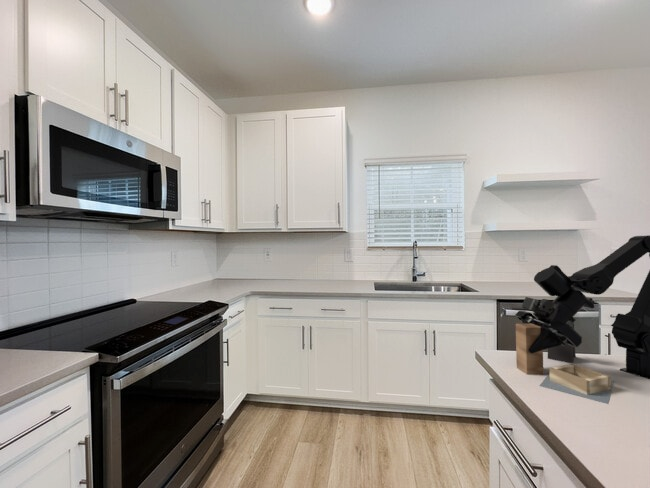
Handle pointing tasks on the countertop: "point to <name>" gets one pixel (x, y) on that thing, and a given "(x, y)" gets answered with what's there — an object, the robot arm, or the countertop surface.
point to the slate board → (597, 396)
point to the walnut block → (524, 340)
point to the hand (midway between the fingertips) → (524, 349)
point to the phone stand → (562, 351)
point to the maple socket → (580, 379)
